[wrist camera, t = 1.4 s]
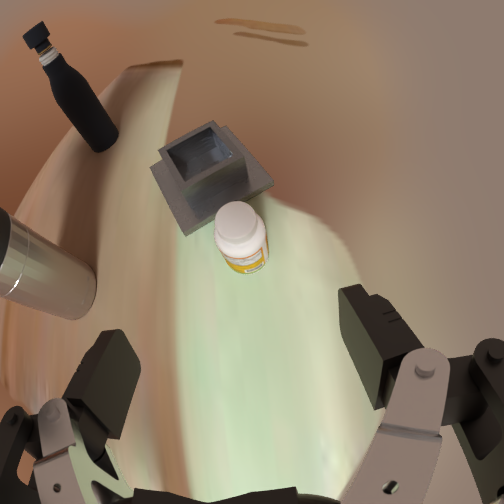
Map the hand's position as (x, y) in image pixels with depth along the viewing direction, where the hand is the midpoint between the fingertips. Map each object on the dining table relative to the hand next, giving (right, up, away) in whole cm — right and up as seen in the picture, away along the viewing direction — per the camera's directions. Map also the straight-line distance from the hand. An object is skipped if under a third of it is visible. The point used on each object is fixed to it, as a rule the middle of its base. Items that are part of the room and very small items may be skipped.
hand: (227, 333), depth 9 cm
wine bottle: (-29, +25, +38) cm, 54 cm away
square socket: (-6, +14, +31) cm, 34 cm away
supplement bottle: (0, +2, +26) cm, 26 cm away
